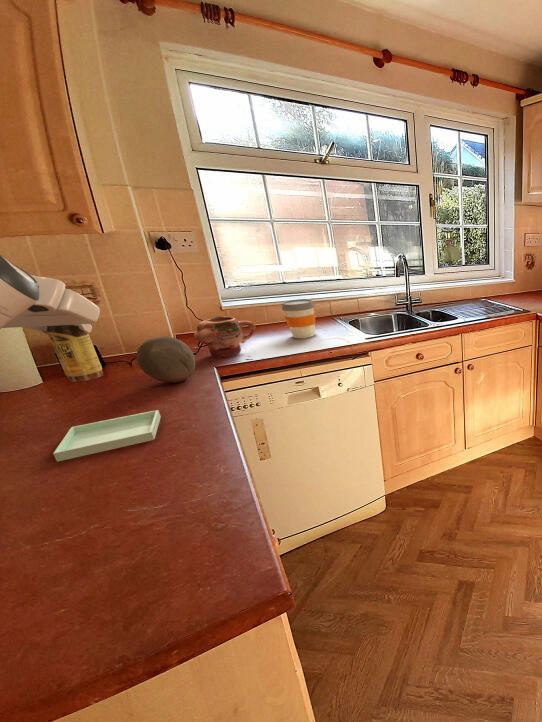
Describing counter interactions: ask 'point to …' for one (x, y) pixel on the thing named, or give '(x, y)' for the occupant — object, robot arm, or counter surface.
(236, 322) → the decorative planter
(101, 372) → the sauce bottle
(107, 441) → the plastic tray
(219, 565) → the counter surface
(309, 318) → the reusable coffee cup
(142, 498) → the counter surface
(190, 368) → the cantaloupe
